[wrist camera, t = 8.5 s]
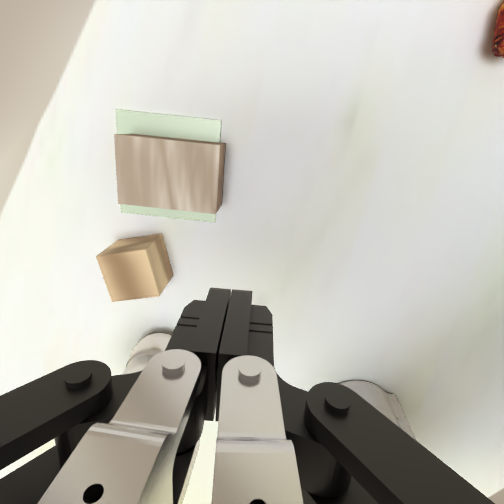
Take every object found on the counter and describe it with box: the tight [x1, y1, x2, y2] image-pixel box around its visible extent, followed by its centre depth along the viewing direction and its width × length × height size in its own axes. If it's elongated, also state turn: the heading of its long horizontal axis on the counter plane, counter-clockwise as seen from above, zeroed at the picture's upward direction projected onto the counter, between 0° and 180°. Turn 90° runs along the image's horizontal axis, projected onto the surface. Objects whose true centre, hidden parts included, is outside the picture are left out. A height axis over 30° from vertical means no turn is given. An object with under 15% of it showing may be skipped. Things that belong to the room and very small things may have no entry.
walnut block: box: [114, 134, 226, 214], centre depth 30 cm, size 4×6×9 cm
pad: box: [116, 109, 221, 222], centre depth 32 cm, size 10×10×1 cm
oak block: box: [96, 234, 173, 302], centre depth 34 cm, size 5×5×5 cm
